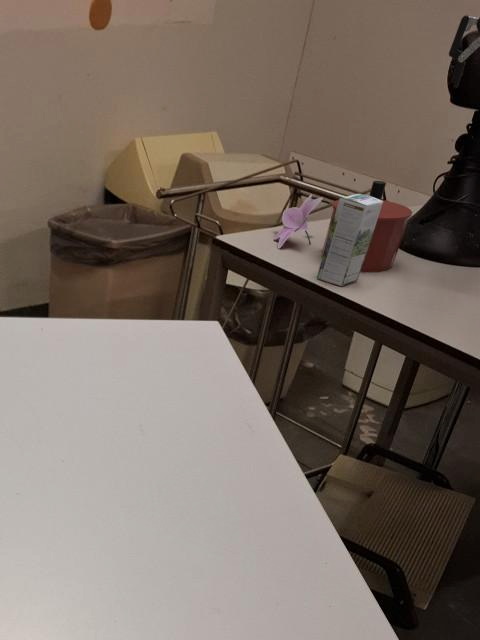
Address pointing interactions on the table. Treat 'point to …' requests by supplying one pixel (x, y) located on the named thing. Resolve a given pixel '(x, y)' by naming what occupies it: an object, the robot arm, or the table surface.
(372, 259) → the pot
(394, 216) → the pot lid
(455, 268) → the table surface
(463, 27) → the robot arm
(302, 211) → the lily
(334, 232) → the syrup box
